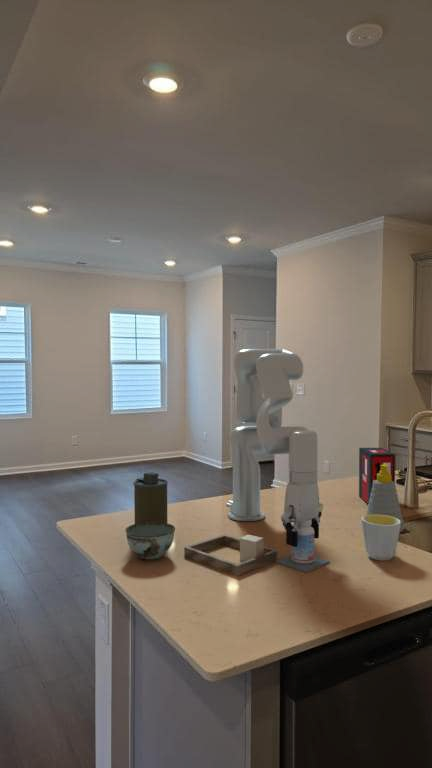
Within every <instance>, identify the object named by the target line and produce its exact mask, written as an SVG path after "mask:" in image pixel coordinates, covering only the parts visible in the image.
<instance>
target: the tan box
mask: <svg viewBox="0 0 432 768" xmlns="http://www.w3.org/2000/svg"><path fill="white" fill-rule="evenodd" d="M239 539H240V549H239V561H242V562H244V561H247V560H249V559H252V558H255V557H257V556H260V555H263V554H264V547H265V546H264V537H261V536H256V535H251V534H246V535H244V536H242V537H240V538H239Z"/></svg>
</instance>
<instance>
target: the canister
mask: <svg viewBox="0 0 432 768" xmlns="http://www.w3.org/2000/svg"><path fill="white" fill-rule="evenodd" d="M159 476H160V474H159V473H156V472H154V471H150V472H145V473H143V477H141V478H140V477H139V478H136V480H135V481H134V482H133V483H132V484H133V486H134V488H133V489H134V492H133V493H134V494H133V495H134V502H133V503H134V524H137V523H144V522H163V523H168V484H169V481H168V480H167V479H163V478H159Z"/></svg>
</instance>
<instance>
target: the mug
mask: <svg viewBox="0 0 432 768" xmlns="http://www.w3.org/2000/svg"><path fill="white" fill-rule="evenodd" d="M361 525H362V532H363V533H362V534H363V539H364V540H363V541H364V547H365V552H366V554H367V555H368V556H369V558H370V559H373V560H375V561H380V562H385V561H387V562H388V561H390V560H391V559H392V558H394V557H395V556H396V554H397V547H398V541H399V537H400V532H399V531H400V525H401V521H400V520H399V519H397V518H395V517H391V516H386V515H367V514H366V515H363V516H362V517H361Z"/></svg>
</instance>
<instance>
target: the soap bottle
mask: <svg viewBox="0 0 432 768" xmlns="http://www.w3.org/2000/svg"><path fill="white" fill-rule="evenodd" d="M380 466H381V471H379V473H378V474H377V480H375V481H374V482H373V487H372V490H371V494H370V499H369V504H368V505H367V510H366V515H386V516H391V517H395V518H397V519H399V520H400V521H401V525H400V531H399V533H401V532H403V531H404V530H405V525H404V520H403V516H402V511H401V506H400V501H399V495H398V491H397V490H398V489H397V487H396V486H397V485H396V483H394V482H393V481H391V474H389V472H388V465H386V464H385V463H383V465H380Z"/></svg>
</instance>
